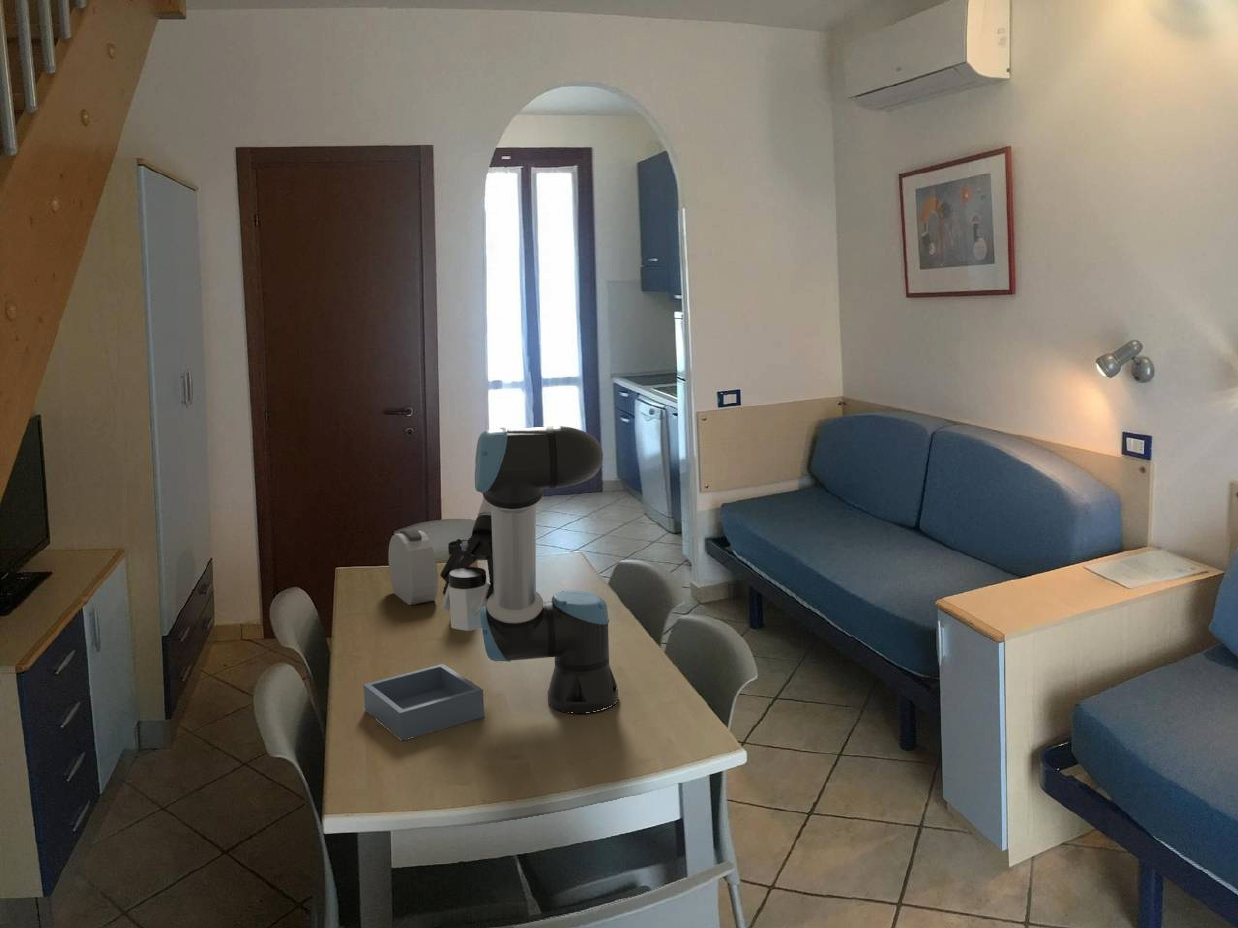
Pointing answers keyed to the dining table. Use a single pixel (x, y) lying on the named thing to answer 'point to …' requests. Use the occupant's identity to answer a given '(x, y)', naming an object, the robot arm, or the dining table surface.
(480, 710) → the bin
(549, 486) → the robot arm
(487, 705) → the dining table surface
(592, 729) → the dining table surface
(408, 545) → the alarm clock
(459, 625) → the jar
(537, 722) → the dining table surface
